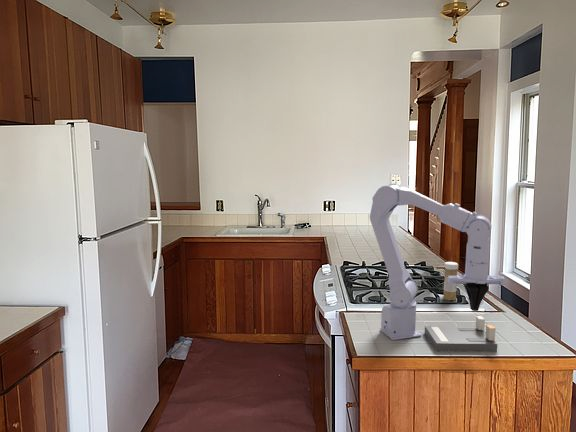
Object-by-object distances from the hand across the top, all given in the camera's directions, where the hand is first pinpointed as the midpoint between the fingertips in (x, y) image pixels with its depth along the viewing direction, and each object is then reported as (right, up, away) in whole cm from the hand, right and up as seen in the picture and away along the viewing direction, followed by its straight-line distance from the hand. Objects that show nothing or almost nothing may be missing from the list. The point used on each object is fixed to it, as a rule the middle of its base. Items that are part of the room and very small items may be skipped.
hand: (474, 309), depth 121 cm
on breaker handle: (+4, -7, +7) cm, 11 cm away
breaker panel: (-3, -10, +4) cm, 11 cm away
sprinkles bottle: (+8, -5, +40) cm, 41 cm away
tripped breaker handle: (+4, -8, 0) cm, 9 cm away
